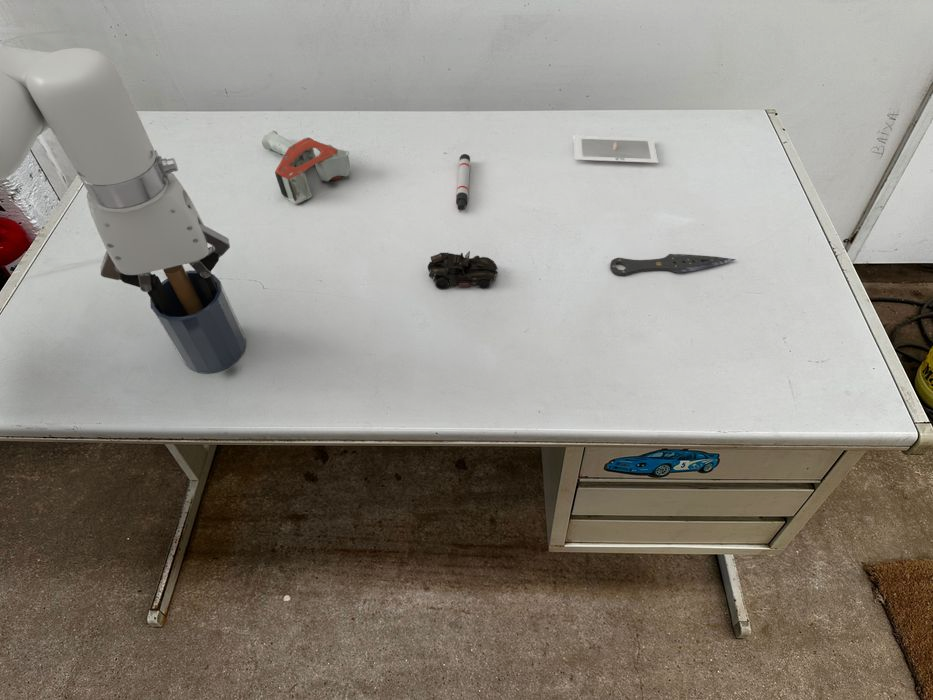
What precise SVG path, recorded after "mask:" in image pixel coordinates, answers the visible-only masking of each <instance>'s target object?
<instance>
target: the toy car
mask: <svg viewBox="0 0 933 700" xmlns="http://www.w3.org/2000/svg"><path fill="white" fill-rule="evenodd" d="M470 255H471V251H470V250H469V251H468V252H467V253H466V254H465V255H464V253H463V252H461V253H460V254H456V253H450V252H439V253H437V254H433V255H432V256H430V261H429V263H428V264H427V270H428V273H429V274H428V277H430V278H431V279H432V280H433V282H435V287H436V288H437V289H439V290H445V289H446V290H447V289H448V288H449V287H450V288H452V287H456V286H457V287H459V288H460V287H461V288H469V287H470V286H471V285H472V286H477V285H478V286H479V288H481V289H483V290H484V289H488V288H489V287H490V285H491V282H494V281H495V280H496V276H497V275H498V271H497V270H498V267H497V264H496V263H495V261H494V260H493V259H492V258H490V257H487V256H480V255H475V256H473V257H470Z"/></svg>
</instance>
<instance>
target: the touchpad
mask: <svg viewBox="0 0 933 700" xmlns="http://www.w3.org/2000/svg"><path fill="white" fill-rule="evenodd" d="M572 136H573V153H574V160H575V161H576V160H578V161H598V162H599V161H601V162H603V161H604V162H629V163H630V162H631V163H652V164H653V163H654V164H655V163H656V164H657V163H659V159H658V156H657V151H656V145H655V142H654V138H653V137H633V136H632V137H631V136H630V137H629V136H628V137H627V136H602V135H598V136H597V135H576V134H575V135H574V134H573V135H572Z"/></svg>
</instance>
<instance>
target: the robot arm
mask: <svg viewBox="0 0 933 700" xmlns="http://www.w3.org/2000/svg"><path fill="white" fill-rule="evenodd" d="M48 129H50V130H51V132H52V134H53V135H54V136H55V138H56V140H57V142H58V143H59V145H60V147H61V149H62V150H63V152H64V154H65V156H66V157H67V159H68V161H69V162H70V164H71V166H72V167H73V169H74V170H75V172H76V174H77V175H78V177H79V180H80V181H81V183H82V184H83V185H84V188H85V189H86V191H87V192H86V200H87V201H86V202H87V205H88V208H89V211H90V215H91V217H92V219H93V220H92V221H93V222H94V225H95V227H96V230H97V232H98V235H99V237H100V239H101V241H102V243H103V245H104V248H105V249H106V251H105V254H104V256H103V259H102V262H101V265H100V276H101V277H102V278H105V279H106V278H107V279H109V280H115V281H121V282H122V283H124V284H127V285H131V286H134V287H137V288H139V289H140V291H141V292H143V293H147V295H148V297H149V299H150V298H151V300H152V301H153V303H154V305H155V306H156V305H159V306H160V307H161V309H162V311H163V313H164V314H165V313H169V311H170V302H169V295H168V293H167V292H166V290H165V288H164V286H163V284H162V281H161V278H160V277H159V275H156V273H153V272H158V271H162V270H163V269H166V268H170V267H174V266H179V265H183V266H184V265H186V264H189V266H190V267H191V268H192V269H193V270H195V271H196V272H197V276H198V282H199V284H200V286H201V288H202V290H203V292H204V294H205V296H206V298H207V301H208V302H209V301H210V302H212V301H213V300H214V295H213V291H217V286H216V283H215V280H214V278H213V276H212V274H213V273H212V270H213V269H214V268H215V266H216V265H217V263H218V262H219V260H220V258H221V257H223V255H224V254H226V252H227V251H228V250H229V249H230V248H231V244H230V239H229V238H228V237H226V236H225V235H223V234H221V233H219V232H217V231H216V230H214V229H212V228H210V227H208V226H206V225H205V224H204V222H203V219H202V217H201V216H200V214H199V212H198V210H197V208H196V207H195V205H194V203H193V201H192V199H191V197H190V196H189V194H188V192H187V190H186V189H185V188H184V186H183V185H182V183H181V182H180V180H179V178H177V175H175V174H174V172H178V171H179V168H178V164H177V162H176V160H175V158H174V157H172V158H166V157H164V158H163V157H162V156H161V155H159V153H158V152H157V150H156V149H154V146H153V144H152V142H151V140H150V138H149V135H148V133H147V131H146V129H145V127H144V125H143V123H142V120H141V118H140V116H139V114H138V111H137V109H136V107H135V105H134V103H133V100H132V99H131V96H130V94H129V92H128V89H127V87H126V85H125V82H124V80H123V79H122V77H121V74H120V72H119V71H118V69H117V67H116V65H115V64H114V63H113V61H112V60H111V59H110V58H109V57H108V56H107V55H106V54H105V53H102V52H101V51H98V50H95V49H93V48H87V47H72V48H71V47H70V48H64V49H59V50H54V51H42V50H34V49H27V48H21V47H14V46H6V45H0V181H2V180H4V179H6V178H8V177H10V176H12V175H14V173H16V172H17V171H18V170H19V168H21V166H22V164H23V163H24V162H25V160H26V158H27V156H28V155H29V153H30V152H31V150H32V148H33V147H34V144H35V142H36V140H37V139H38V137H39V136H41V134H43V133H45V132H46V131H47V130H48ZM208 244H209V245H210V247H209V246H208ZM152 273H153V274H152Z"/></svg>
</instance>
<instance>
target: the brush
mask: <svg viewBox="0 0 933 700" xmlns="http://www.w3.org/2000/svg"><path fill="white" fill-rule="evenodd" d="M162 270H163V273H164V275H165V277H166V279H167V278H168V280H169V282H170V284H171V286H172V287H173V289H174V291H175V293H176V295H177V297H178V298H179V300H180V302H181V304H182V306H183V308H184V309H185V311H186V313H187V315H192V314H195V313H197V312H199V311H201V310H203V309H204V307H203V305H202V303H201V301H200V299H199V297H198V295H197V293H196V291H195V289H194V287H193V285H192V283H191V281H190V279H189V277H188V275H187V273H186V271H187V270H185V267H184V264H183V265H179V266H174V267H170V268H166V269H162Z"/></svg>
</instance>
